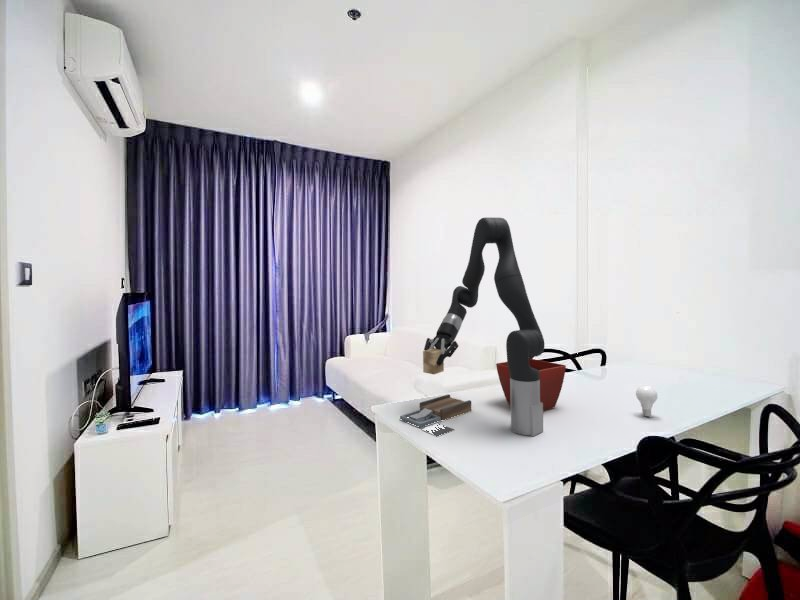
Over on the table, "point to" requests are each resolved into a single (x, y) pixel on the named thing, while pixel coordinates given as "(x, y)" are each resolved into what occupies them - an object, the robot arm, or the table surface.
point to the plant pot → (548, 381)
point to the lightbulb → (646, 399)
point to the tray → (430, 420)
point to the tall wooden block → (432, 361)
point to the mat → (441, 430)
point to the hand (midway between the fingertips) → (431, 363)
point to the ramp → (446, 406)
